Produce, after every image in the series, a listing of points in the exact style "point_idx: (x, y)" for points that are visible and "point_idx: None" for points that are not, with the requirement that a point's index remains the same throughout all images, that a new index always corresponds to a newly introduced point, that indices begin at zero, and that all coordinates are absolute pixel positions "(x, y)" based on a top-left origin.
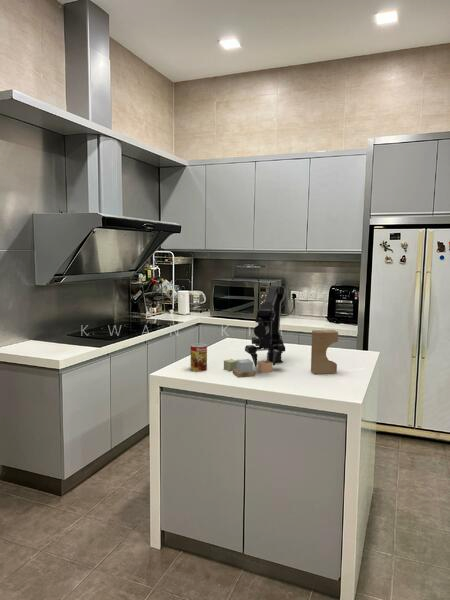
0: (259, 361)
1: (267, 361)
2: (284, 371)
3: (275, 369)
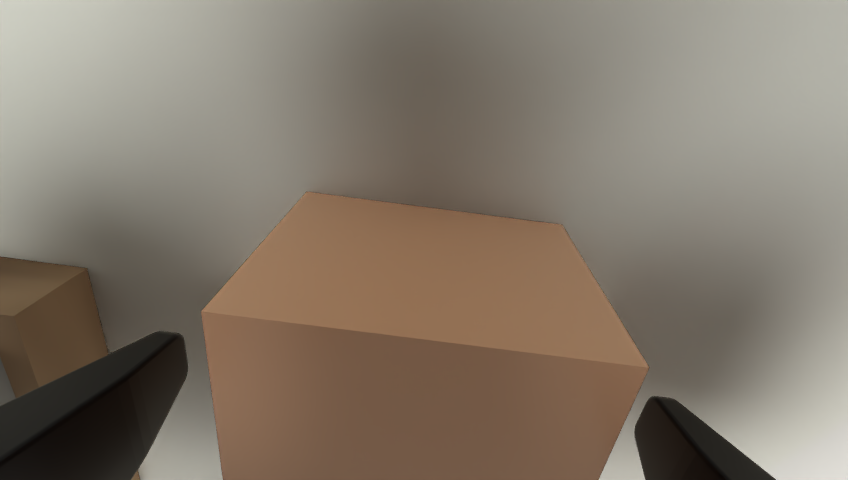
0: (256, 392)
1: (517, 474)
2: None
3: (686, 309)
